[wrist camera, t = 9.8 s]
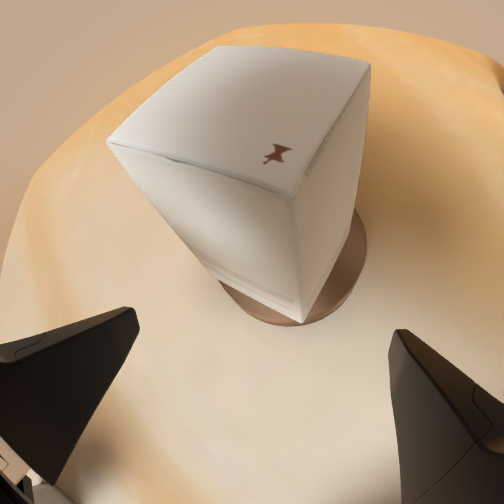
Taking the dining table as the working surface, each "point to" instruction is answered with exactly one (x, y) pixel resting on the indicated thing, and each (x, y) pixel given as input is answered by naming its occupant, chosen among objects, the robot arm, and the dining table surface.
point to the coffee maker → (49, 495)
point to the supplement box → (255, 165)
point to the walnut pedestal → (331, 292)
